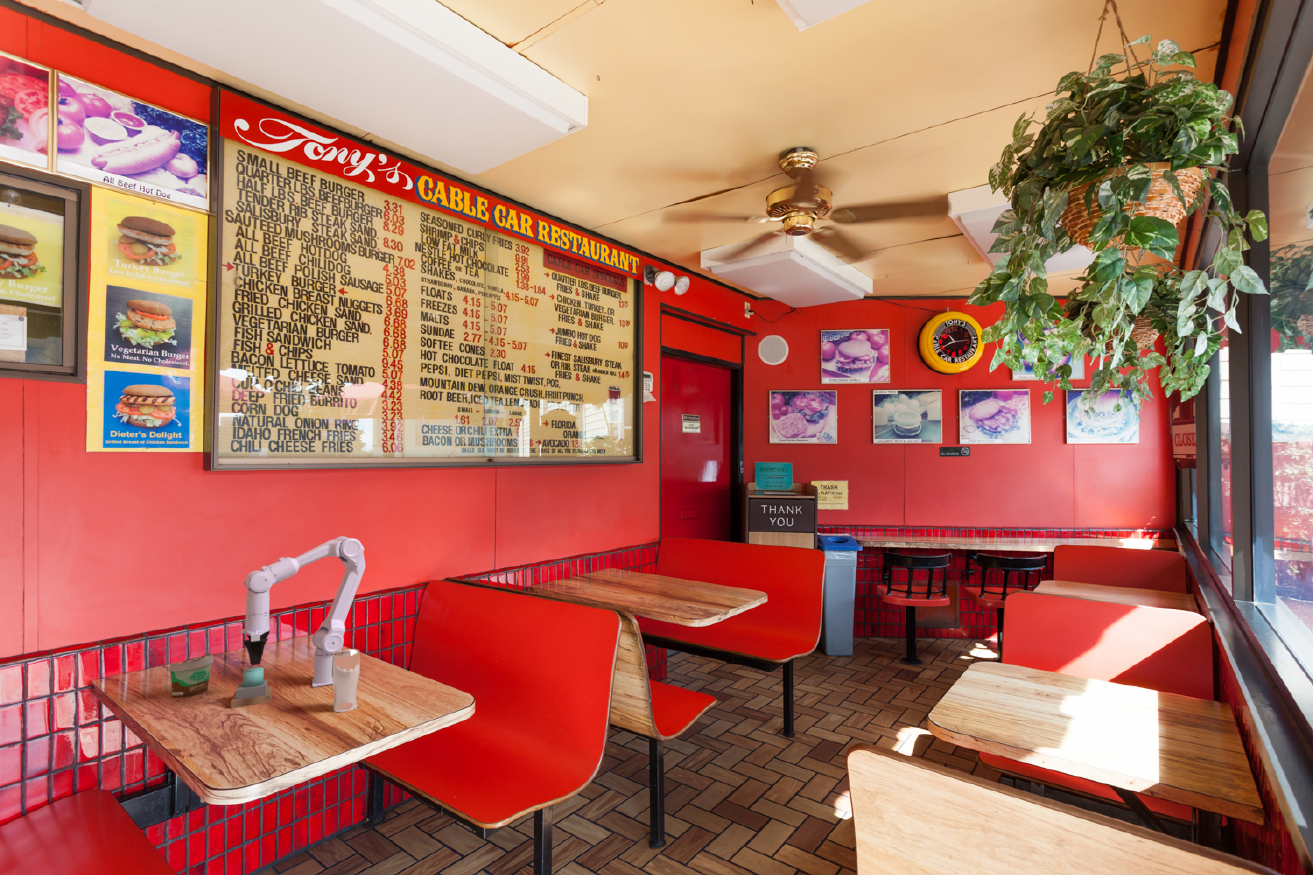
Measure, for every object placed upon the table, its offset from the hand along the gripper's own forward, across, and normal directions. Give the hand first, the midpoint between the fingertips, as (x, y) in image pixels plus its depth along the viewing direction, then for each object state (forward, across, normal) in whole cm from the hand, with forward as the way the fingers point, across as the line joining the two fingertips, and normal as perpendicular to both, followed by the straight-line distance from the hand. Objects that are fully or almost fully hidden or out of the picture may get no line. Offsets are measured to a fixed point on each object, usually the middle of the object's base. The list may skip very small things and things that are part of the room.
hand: (256, 660), depth 181 cm
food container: (+10, -14, -16) cm, 23 cm away
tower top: (+8, +2, -1) cm, 9 cm away
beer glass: (+11, +22, +22) cm, 33 cm away
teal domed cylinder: (+6, +2, -1) cm, 6 cm away
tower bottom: (+11, +2, -1) cm, 11 cm away
